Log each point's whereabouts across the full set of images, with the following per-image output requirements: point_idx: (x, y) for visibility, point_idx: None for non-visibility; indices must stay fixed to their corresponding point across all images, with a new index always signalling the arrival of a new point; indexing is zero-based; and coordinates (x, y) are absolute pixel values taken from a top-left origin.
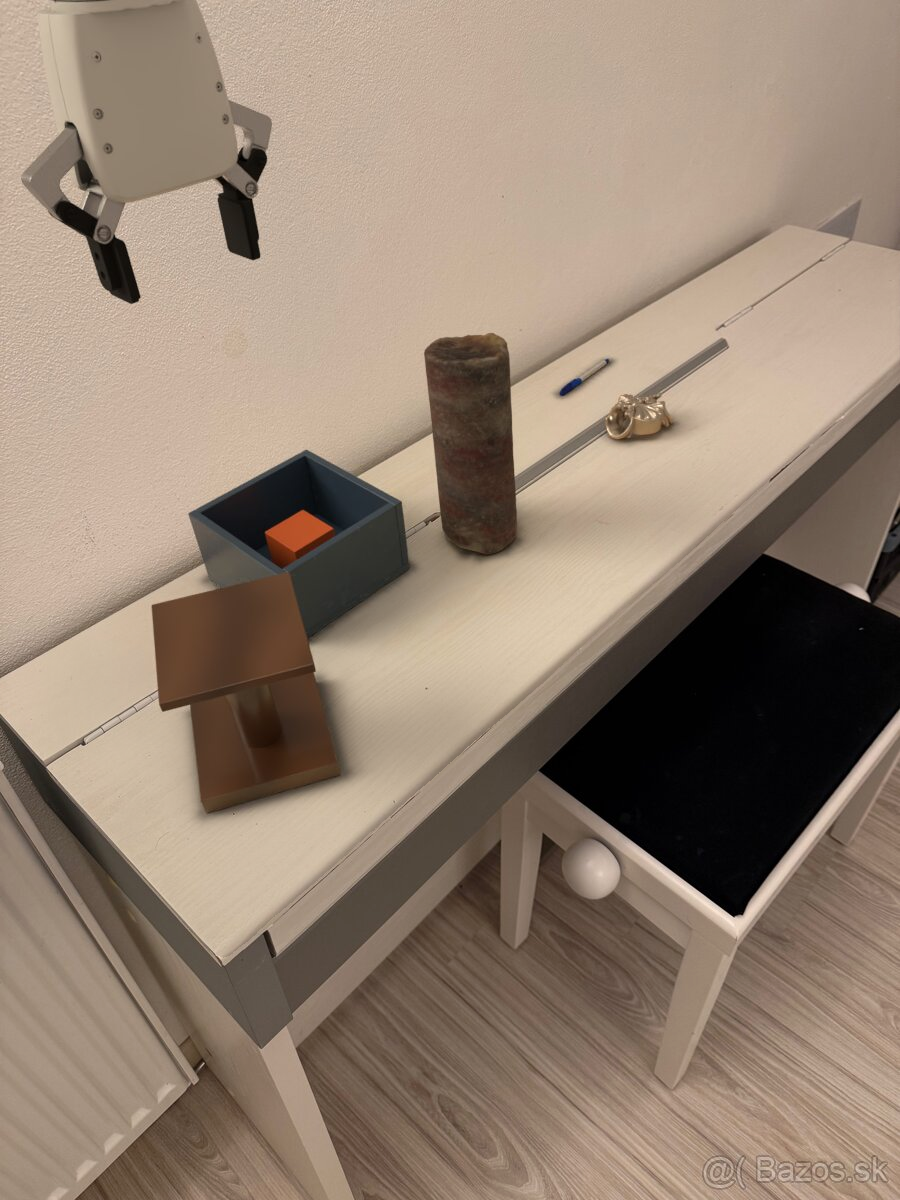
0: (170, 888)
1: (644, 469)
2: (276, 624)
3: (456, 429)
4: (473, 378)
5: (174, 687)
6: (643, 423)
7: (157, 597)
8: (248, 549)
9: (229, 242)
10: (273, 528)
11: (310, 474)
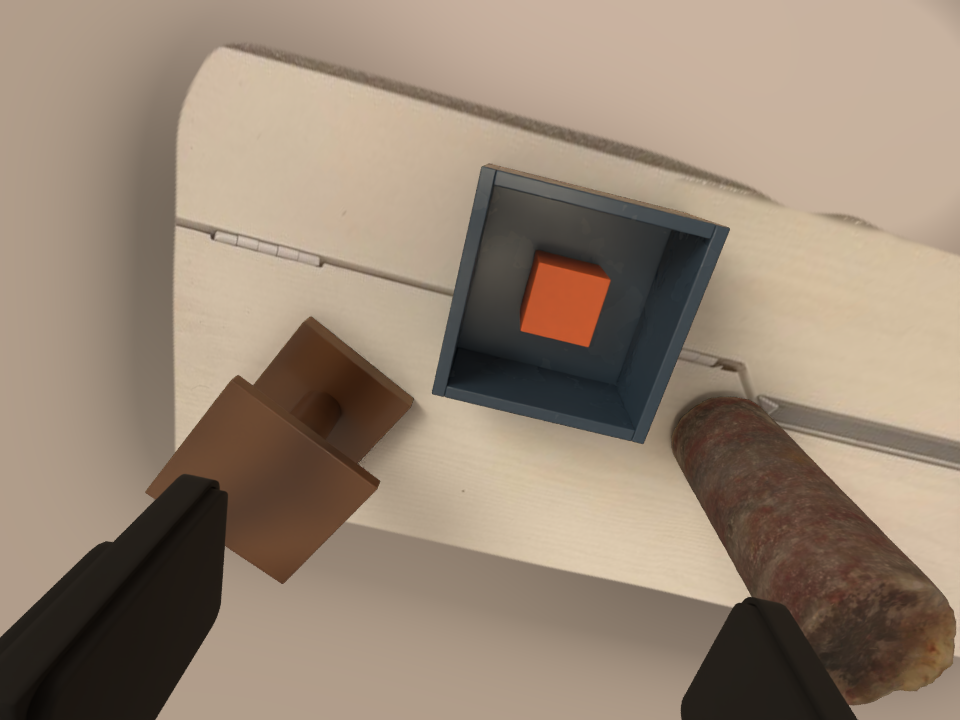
0: (179, 423)
1: (913, 546)
2: (300, 526)
3: (738, 561)
4: None
5: None
6: None
7: (423, 119)
8: (456, 320)
9: (748, 647)
10: (552, 269)
11: (696, 238)
